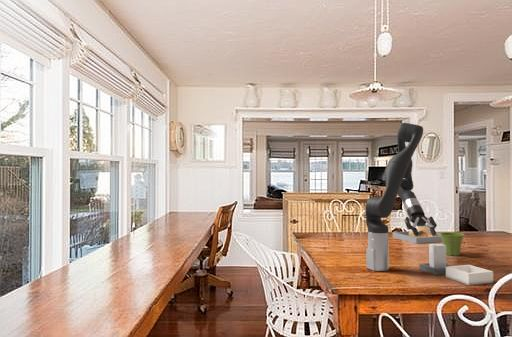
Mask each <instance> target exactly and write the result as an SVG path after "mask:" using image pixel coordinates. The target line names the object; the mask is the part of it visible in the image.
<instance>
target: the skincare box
mask: <svg viewBox="0 0 512 337" xmlns="http://www.w3.org/2000/svg"><path fill="white" fill-rule="evenodd" d="M428 249H429V250H428V251H429V253H428V257H429V259H428V260H429V262H428V263H430V266H431V267H434V268H446V264H447V255H446V245H443V243H428Z"/></svg>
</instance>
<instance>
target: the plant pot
mask: <svg viewBox="0 0 512 337" xmlns="http://www.w3.org/2000/svg"><path fill="white" fill-rule="evenodd" d="M439 234H440V235H441V238H442V241H443V242H442V244H443V245H446V256H454V257H457V256H460V254H461V248H462V242H463V241H462V240H463V236H465V234H464V233H461V232H453V231H452V232H451V231H447V232H446V231H445V232H439Z"/></svg>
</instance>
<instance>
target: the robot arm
mask: <svg viewBox="0 0 512 337" xmlns="http://www.w3.org/2000/svg"><path fill="white" fill-rule="evenodd" d="M423 134H424V127H423V126H421V125H419V124H414V123H409V122H408V123H407V122H402V123H401V124H400V125H399V126H398V130H397V135H396V136H397V153H396V154H394V155H393V156H392V157H391V158H390V159H389V160H388V163H387V164H386V167H385V169H384V174H383V175H384V181H385V190H384V191H383V194H382V196H381V197H378V196H376V197H373V196H372V197H369V198H368V199H367V200H366V203H365V207H364V208H365V225H366V227H367V247H366V248H365V251H366V253H365V255H366V256H365V257H366V259H365V261H366V264H365V265H366V266H365V267H366V269H368V270H371V271H378V272H379V271H380V272H386V271H389V269H390V258H389V256H390V253H389V252H390V251H389V249H390V248H389V247H390V246H389V244H390V243H389V240H390V238H389V234H390V233H389V226H388V225H387V224H385V223H384V222H383V220H382V219H387V218H388V217H389V216H390V215H391V213H392V212H393V209H394V206H395V202H396V199H397V196H398V197H399V198H400V199H401V202H402V204H403V206H404V209H405V211H406V214H407V216H405V218H404V223H405V227H406V229H407V230H408V231H413V233H414V235H415V236H418V235H419V233H418V231H417V229H418V228H417V227H418V226H424V227H426V228H428V229H430V232H431V234H432V236H435V234H436V233H437V231H436V230H435V229H436V227H437V226H438V225H437V223H436V221H435V220H434V218H433V216H429V217H427V216H426V215H425V214H426V213H425V211H424V209H423V206H422V205H421V203H420V201H419V200H418V198H417V196H416V194H415V193H414V192H413V189H414V181H413V177H412V176H413V174H412V172H413V159H412V158H413V156H414V154H415V152H416V150H417V148H418V146H419V144H420V142H421V140H422V137H423ZM406 143H408V144H407V145H406Z"/></svg>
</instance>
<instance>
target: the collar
mask: <svg viewBox="0 0 512 337" xmlns="http://www.w3.org/2000/svg"><path fill="white" fill-rule="evenodd" d="M449 266H451V265H450V264H447V263H446V267H449ZM419 270H421V271H424V272H426V273H430V274H432V275H434V276H435V275H436V276H440V275H441V276H442V275H446V268H434V267H431V266H430V263H429V262H425V263H424V262H423V263H419Z"/></svg>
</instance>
